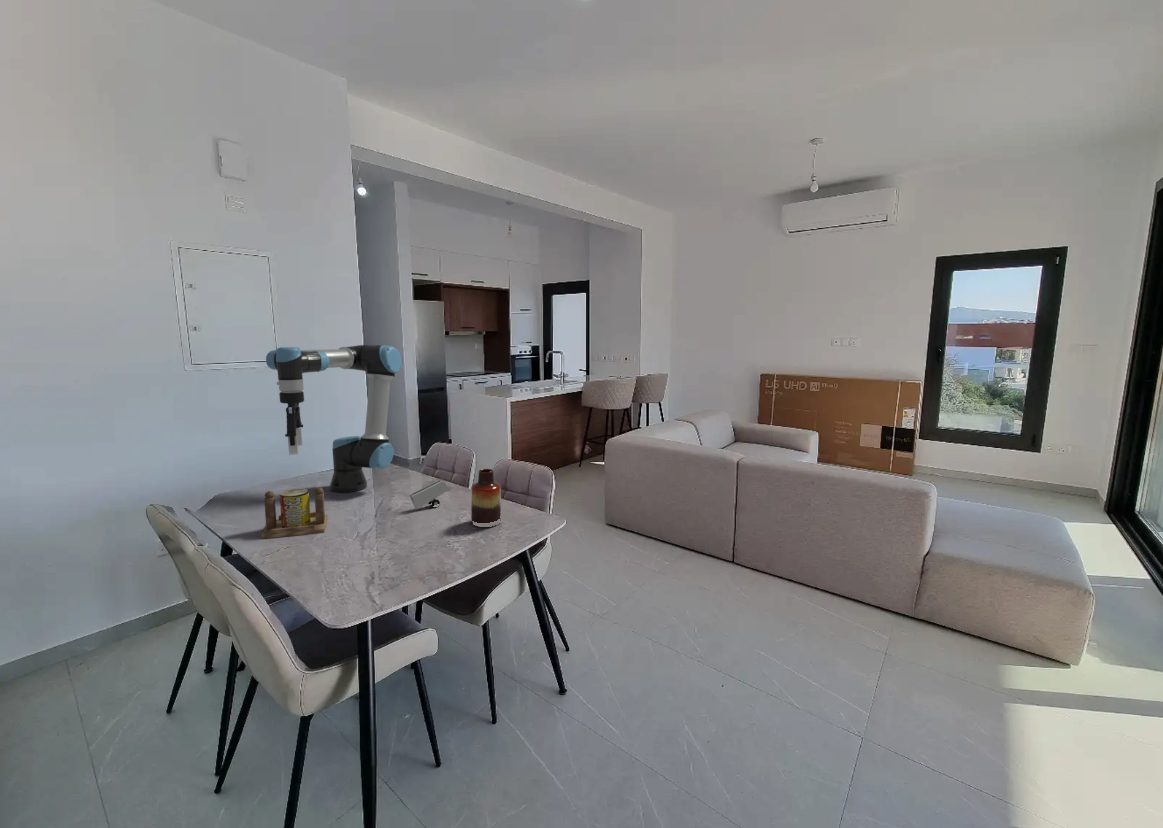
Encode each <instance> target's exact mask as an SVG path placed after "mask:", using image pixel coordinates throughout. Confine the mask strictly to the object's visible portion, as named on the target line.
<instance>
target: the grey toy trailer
mask: <svg viewBox="0 0 1163 828" xmlns="http://www.w3.org/2000/svg"><path fill="white" fill-rule="evenodd" d="M448 491H450V488H449V487H448V485H447V484H446V482H445V481H444V480H441V479H437V480H436V481H434V482H431V483H430V484H427V485H425V486H423V487H422V488H420V489H417V490H415V491H413V492H412V493H410V494H408V496H409V498H410V500H411V502H412V504H413V506H414V508H415V509H416V510H418V509H421V508H423V506H426V504H428V505H429V504H431V503H432V506H431V507H433V506H434V505H437V504H440V503H441V502H440V500H439V499H437V498H438V497H440V496H441V495H443V494H444V493H446V492H448Z"/></svg>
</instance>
